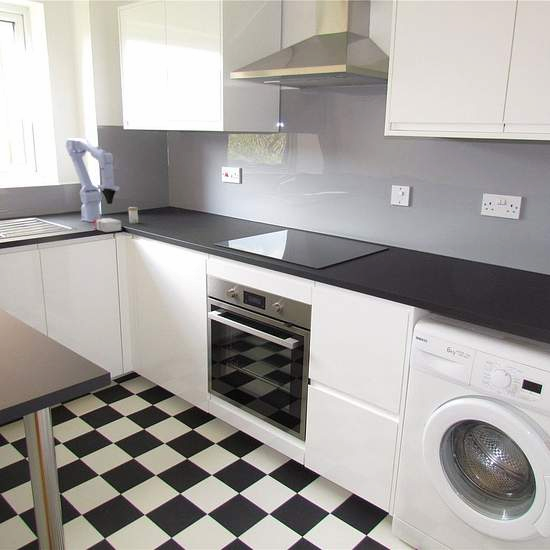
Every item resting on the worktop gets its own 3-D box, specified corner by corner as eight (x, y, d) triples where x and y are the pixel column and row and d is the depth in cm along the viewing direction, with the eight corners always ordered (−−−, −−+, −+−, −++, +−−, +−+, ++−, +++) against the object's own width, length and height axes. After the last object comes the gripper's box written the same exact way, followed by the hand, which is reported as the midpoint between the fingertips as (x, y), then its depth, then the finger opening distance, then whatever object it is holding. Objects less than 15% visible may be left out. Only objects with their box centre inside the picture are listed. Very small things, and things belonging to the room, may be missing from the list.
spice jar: (127, 222, 279) (126, 207, 277) (134, 221, 283) (133, 206, 281) (133, 223, 276) (132, 208, 274) (140, 222, 280) (139, 207, 278)
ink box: (94, 229, 260) (105, 232, 252) (93, 219, 259) (104, 222, 251) (110, 227, 266) (121, 230, 258) (109, 217, 264) (121, 220, 256)
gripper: (92, 177, 270) (94, 203, 274) (110, 178, 263) (112, 205, 266) (103, 176, 276) (105, 202, 280) (122, 177, 268) (123, 204, 272)
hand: (109, 203), depth 273 cm, fingers closed
